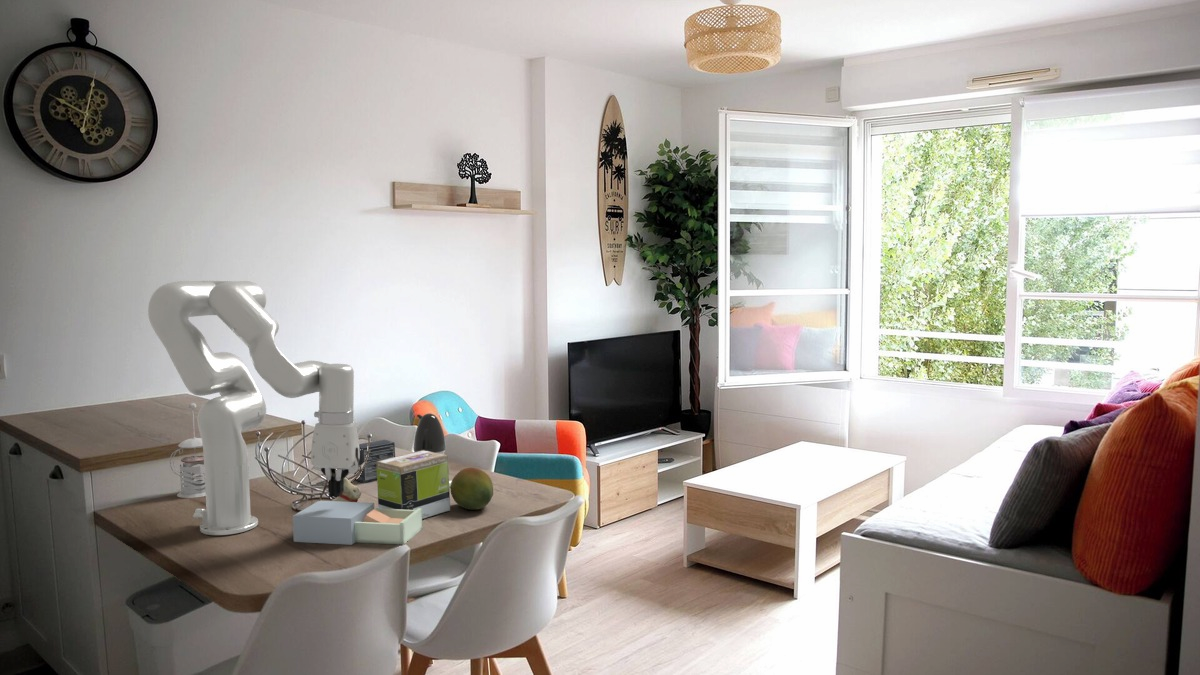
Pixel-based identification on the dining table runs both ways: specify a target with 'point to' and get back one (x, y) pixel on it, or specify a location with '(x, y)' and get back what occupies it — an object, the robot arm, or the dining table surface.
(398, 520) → the peach orange cube
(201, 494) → the french press
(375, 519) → the orange wooden cube
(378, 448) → the small box
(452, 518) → the dining table surface
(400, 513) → the bin
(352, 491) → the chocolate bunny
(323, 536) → the light blue drawer case
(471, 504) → the fruit
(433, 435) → the black rounded cone
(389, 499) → the tea box
